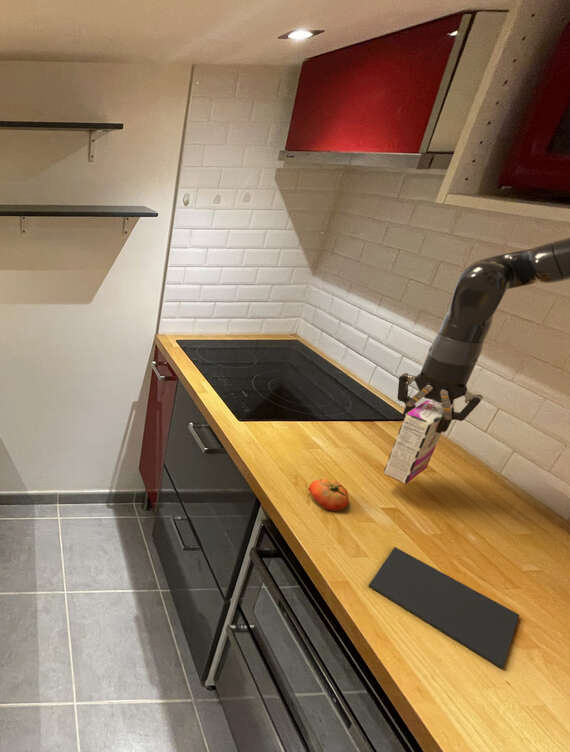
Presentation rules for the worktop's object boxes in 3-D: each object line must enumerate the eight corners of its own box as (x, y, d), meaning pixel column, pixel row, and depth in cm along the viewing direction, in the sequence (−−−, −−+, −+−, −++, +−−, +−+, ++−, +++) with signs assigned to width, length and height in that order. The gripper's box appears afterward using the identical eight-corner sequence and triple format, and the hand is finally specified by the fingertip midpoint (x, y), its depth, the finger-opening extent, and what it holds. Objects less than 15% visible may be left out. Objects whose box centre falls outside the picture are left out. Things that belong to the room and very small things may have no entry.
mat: (517, 616, 76) (519, 614, 76) (501, 669, 69) (503, 667, 68) (393, 548, 89) (394, 546, 89) (368, 586, 81) (369, 584, 81)
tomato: (310, 503, 98) (319, 472, 100) (299, 502, 105) (307, 473, 106) (350, 518, 96) (358, 486, 98) (336, 517, 103) (344, 486, 104)
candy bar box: (402, 457, 108) (426, 398, 102) (426, 468, 105) (454, 408, 98) (380, 473, 103) (405, 412, 96) (405, 485, 99) (433, 423, 92)
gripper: (503, 363, 89) (469, 434, 96) (415, 341, 99) (390, 407, 106) (495, 374, 85) (460, 447, 91) (404, 349, 95) (378, 417, 102)
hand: (422, 425), depth 99 cm, fingers closed on candy bar box, 5 cm apart
